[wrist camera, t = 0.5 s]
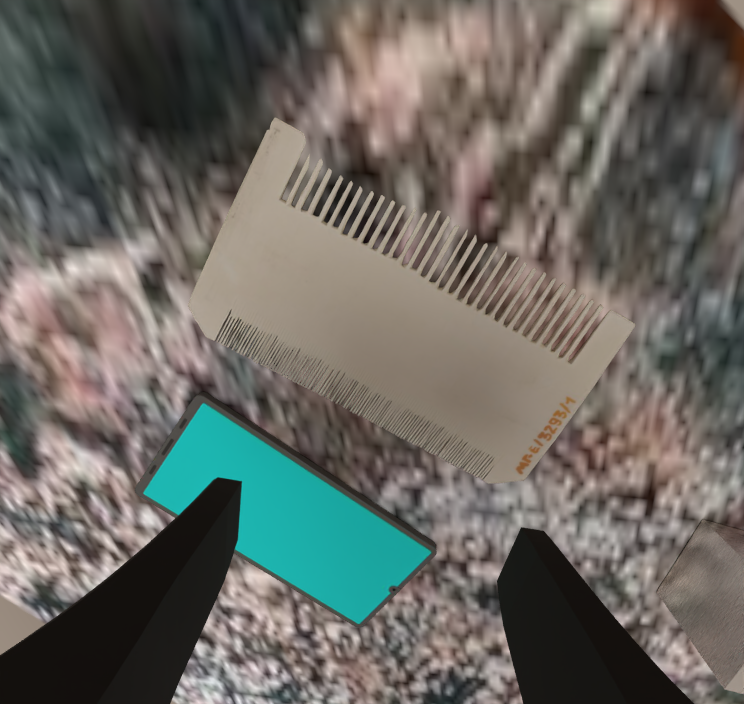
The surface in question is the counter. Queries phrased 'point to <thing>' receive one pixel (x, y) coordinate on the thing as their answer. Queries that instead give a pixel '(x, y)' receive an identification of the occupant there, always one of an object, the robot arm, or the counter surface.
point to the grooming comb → (395, 323)
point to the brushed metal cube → (711, 599)
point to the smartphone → (289, 512)
